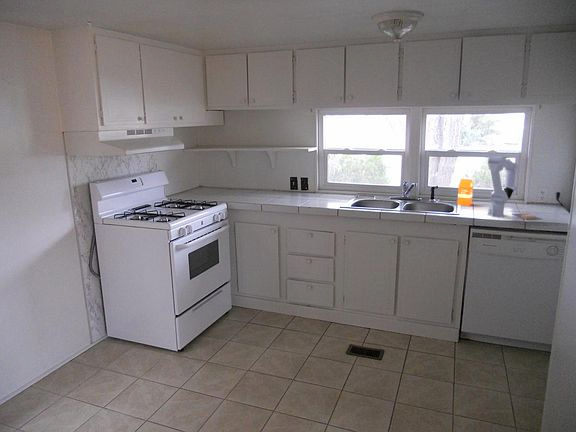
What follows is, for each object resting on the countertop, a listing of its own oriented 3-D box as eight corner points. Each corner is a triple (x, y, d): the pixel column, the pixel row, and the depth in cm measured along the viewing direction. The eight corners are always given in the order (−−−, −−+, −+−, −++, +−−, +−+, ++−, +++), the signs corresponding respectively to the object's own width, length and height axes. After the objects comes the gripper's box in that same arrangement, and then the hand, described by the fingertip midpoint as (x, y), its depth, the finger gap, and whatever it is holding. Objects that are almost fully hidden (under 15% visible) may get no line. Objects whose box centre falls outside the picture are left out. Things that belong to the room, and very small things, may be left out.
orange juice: (460, 202, 353) (462, 178, 348) (471, 204, 347) (473, 179, 343) (457, 204, 347) (459, 179, 342) (468, 205, 341) (470, 180, 337)
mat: (525, 220, 294) (525, 219, 294) (511, 214, 310) (511, 214, 310) (542, 219, 295) (542, 219, 295) (527, 214, 311) (527, 213, 311)
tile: (520, 217, 300) (525, 219, 294) (520, 214, 300) (526, 216, 294) (528, 217, 301) (534, 219, 295) (529, 214, 300) (534, 216, 294)
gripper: (521, 180, 305) (519, 200, 309) (509, 177, 319) (507, 196, 323) (511, 181, 305) (509, 200, 308) (500, 178, 319) (498, 196, 322)
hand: (508, 198), depth 315 cm, fingers closed
